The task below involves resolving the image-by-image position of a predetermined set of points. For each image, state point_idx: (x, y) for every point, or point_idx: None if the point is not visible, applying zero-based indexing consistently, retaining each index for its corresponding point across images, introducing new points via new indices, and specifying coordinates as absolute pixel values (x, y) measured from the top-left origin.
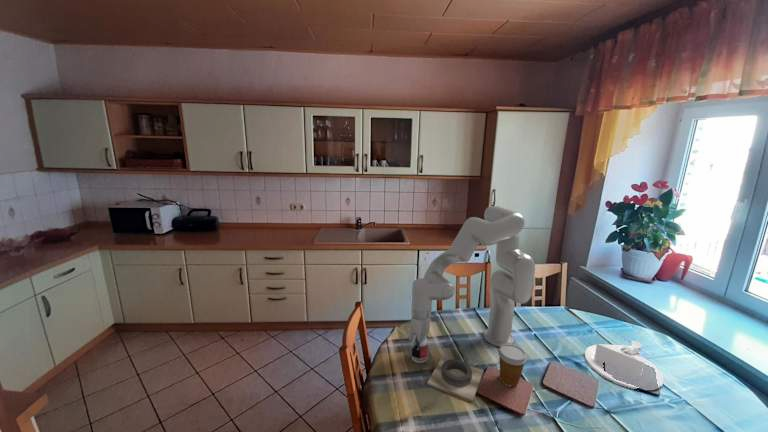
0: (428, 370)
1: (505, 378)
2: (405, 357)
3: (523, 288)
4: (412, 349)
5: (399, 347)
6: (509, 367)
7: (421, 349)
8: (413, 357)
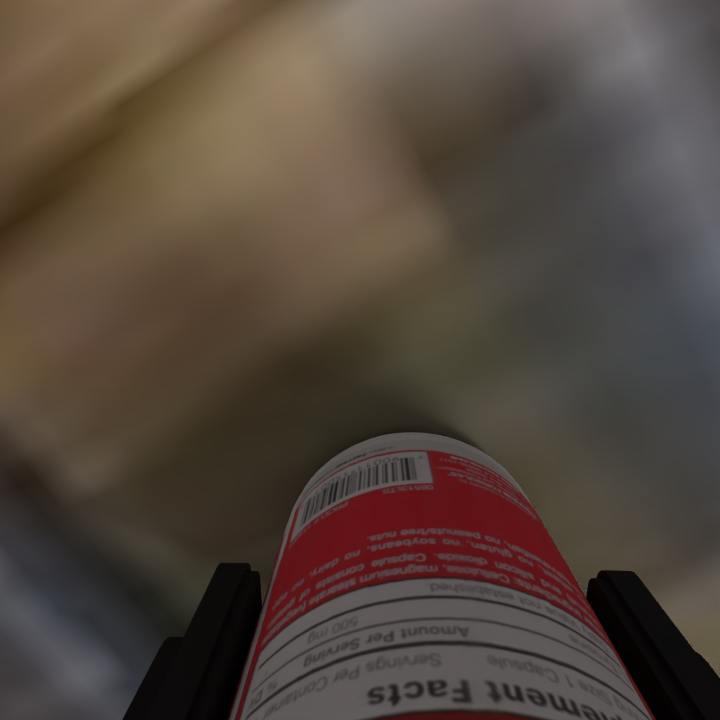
0: None
1: None
2: (324, 343)
3: None
4: (156, 710)
5: (534, 110)
6: None
7: None
8: (284, 534)
